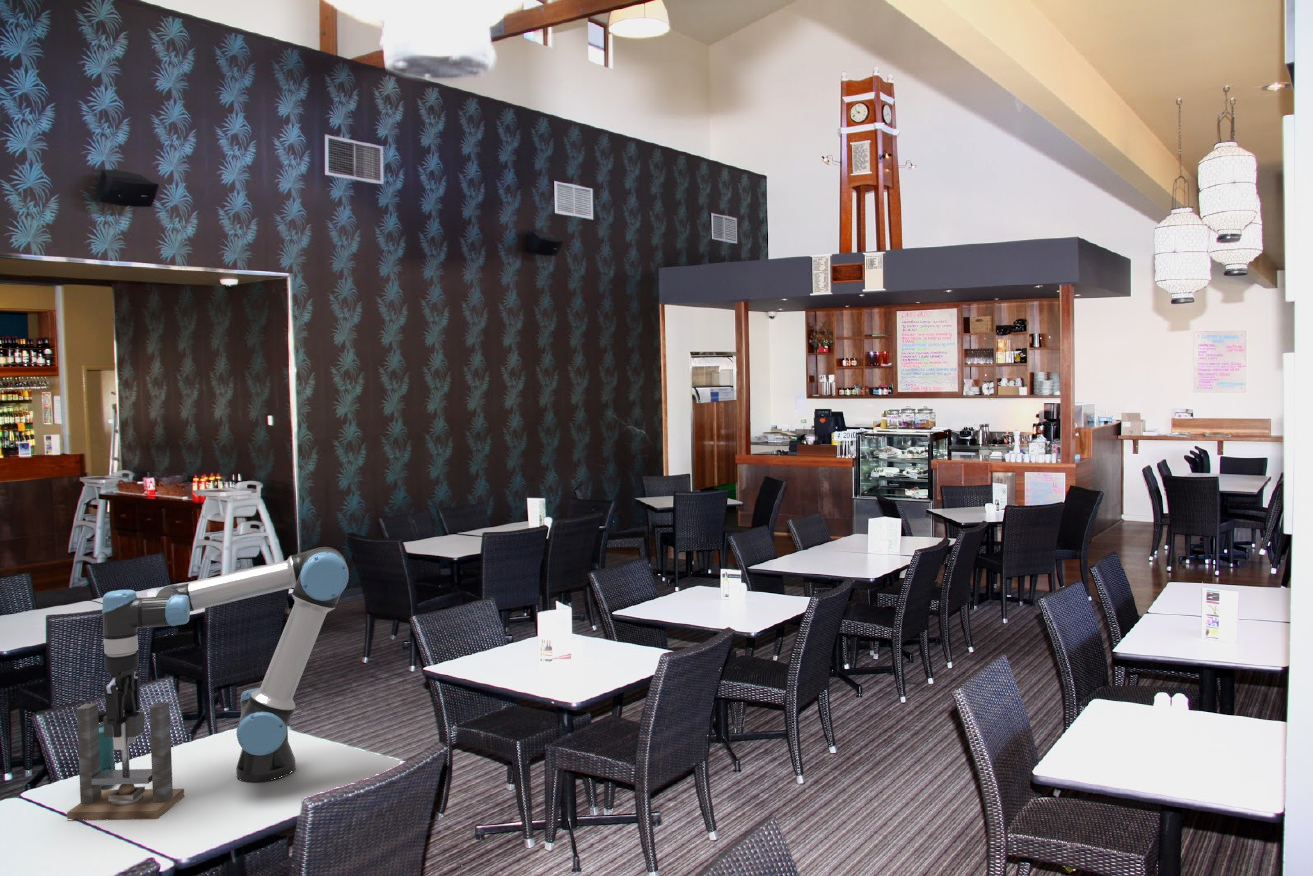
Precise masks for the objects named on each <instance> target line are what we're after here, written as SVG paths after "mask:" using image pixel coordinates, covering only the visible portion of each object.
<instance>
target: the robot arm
mask: <svg viewBox="0 0 1313 876" xmlns="http://www.w3.org/2000/svg"><path fill="white" fill-rule="evenodd" d="M349 574H350V573H349V568H348V564H347V562H346V559H345V557H344V555H343V554H342V553H341V552H340V551H338V550H337V549H335V548H332V547H330V546H329V547H328V546H323V547H316V548H314V549H310V550H307V551H304V552H300V553H296V554H292V555H290V556H288V558H287V560H283V561H280V562H274V563H270V564H265V565H260V566H258V567H257V566H256V567H253V568H248V569H243V570H240V571H235V572H230V573H226V574H223V575H217V576H213V577H209V578H203V579H200V580H196V581H192V582H188V583H183V584H179V585H177V584H169V585H166V586H164V587H163V588H161V589H160V590H159V591H158V592H157V594H156V596H149V597H138V595H137V592H136V591H135V590H133V589H118V590H112V591H108V592H106V593H105V594H104V595H103V597H102V610H101V614H102V629H103V631H102V632H103V633H102V634H103V641H102V644H103V651H104V654H105V656H104V657H103V659H104V670H105V671H106V672H109V674H110V676H109V683H108V685H107V684H105V685H103V688H102V689H103V694H104V697H105V701H104V702H105V712H106V718H107V724H112V725H113V745H114V751H115V750H117V751H118V750H121V751H122V750H125V749H126V729H125V723H123V715H124V712H140V710H141V693H140V692H141V691H140V690H141V688H140V685H141V684H140V683H141V682H140V681H141V674H142V673H141V671H135V669H137V668H138V667H139V665H140V664H139V661H140V660H139V652H138V650H139V636H138V629H144V628H157V627H170V626H171V627H175V626H181V625H185V624H187V623H189V621H190V617H191V612H193V611H197V610H202V609H205V608H206V609H207V608H210V607H215V606H220V605H223V604H228V603H232V602H237V601H239V600H244V599H249V598H253V597H258V596H261V595H262V596H263V595H266V594H271V593H275V592H279V591H284V590H287V589H292V588H293V590H292V593H291V596H292V599H293V600H294V604H293V607H292V609H291V610H290V613H289V616H288V618H287V620H286V621H287V622H286V623H285V626H284V628H283V631H282V634H281V635H280V638H279V641H278V642H277V644H276V645H277V646H276V648H275V650H274V653H273V655H272V658H271V660H270V663H269V665H268V668H267V670H266V673H265V675H264V676H263V677H264V678H263V680H262V683H261V685H260V687H256V688H250V689H247V690H244V691H243V692H242V693H241V694H240V700H239V702H240V709H241V711H240V718H239V722H238V725H237V727H236V738H237V741H238V744H239V745H240V747H241V751H240V753H239V758H238V761H237V764H236V769H235V772H236V773H235V774H236V775H237V776H236V778H237V779H238V778H239V779H238V780H240V779H241V780H240V781H242V780H243V781H244V782H247V783H248V782H249V783H257V782H258V783H259V782H260V783H261V781H262V782H269V781H272V780H271V779H274V778H278V779H280V778H279V777H281V776H284V775H286V774H289V773H290V772H291V771H293V770H294V769H295V767H296V766H297V765H296V763H297V762H296V757H295V755H294V753H293V750H292V748H291V745H290V742H289V735H288V733H289V731H288V729H289V728H288V727H289V724H290V722H291V719H292V716H293V714H294V711H295V709H296V704H295V702H294V695H295V693H296V690H297V689H298V685H299V683H300V680H301V678H302V675H303V673H304V671H305V668H306V666H307V663H308V660H309V658H310V657H311V653H312V650H313V648H314V645H315V643H316V641H317V638H318V636H319V633H320V632H321V628H322V626H323V623H324V621H325V618H326V616H327V614H328V613H329V612H331V611H333V610H335V609H336V608H337V604H338V602H339V599H340V598H341V595H342V593H343V592H344V591H345V589H346V588H347V585H348V582H349V579H350V577H349V576H350V575H349ZM128 743H129V744H135V743H137V737H128ZM296 768H297V767H296ZM295 770H296V769H295ZM295 770H294V771H295ZM294 771H293V772H294ZM289 775H290V774H289ZM284 777H285V776H284ZM281 778H282V777H281ZM268 780H269V781H268ZM274 780H275V779H274ZM243 781H242V782H243Z"/></svg>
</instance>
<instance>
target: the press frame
mask: <svg viewBox="0 0 1313 876" xmlns="http://www.w3.org/2000/svg"><path fill="white" fill-rule="evenodd" d="M98 704H99V703H84V704H83V705H80V706H79V707H77V708H76V722H77V748H78V749H77V750H78V773H79V795H80V797H79V798H80V802H79V803H78V804H77V805H76V806H74V807H72V808H71V809H70V810H69V811H67V812H66V820H67V819H78V820H77V821H107V820H106V819H108V821H111V820H113V821H114V820H120V821H121V820H156V819H157V820H158V819H160V818H161V817H162V816H163V815H164V814H165V813H166V812H167V811H168V810H170V809H171V808H172V807H174V805H176V804H178V802H180V801H181V800H182V799H183V798H184V797H185V788H174V787H173V765H172V762H173V761H172V738H171V714H170V713H171V712H170V710H171V709H170V707H171V706H170V702H169V701H167V702H165V701H163V702H161V701H160V702H156V703H155V704H152V705H151V706H149V725H150V728H149V729H150V731H149V733H150V754H151V755H150V756H151V758H150V760H151V769H152V781H151V782H152V783H151V785H152V788H146V787H145V786H135V790H134V792H133V794H131V795H120V794H119V788H117V789H102V786H101V785H92V780H91V779H92V778H93V777H95V776H96V775H98V774H99V773H101V772H100V747H99V724H100V723H98V712H99V705H98ZM83 819H84V820H83ZM87 819H88V820H87ZM97 819H99V820H97Z"/></svg>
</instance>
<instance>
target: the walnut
mask: <svg viewBox="0 0 1313 876" xmlns="http://www.w3.org/2000/svg"><path fill="white" fill-rule="evenodd" d="M135 787H136V786H135V784H119V787H118V789H119V794H120V795H131V794H133V792H134V790H135Z"/></svg>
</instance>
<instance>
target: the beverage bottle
mask: <svg viewBox="0 0 1313 876" xmlns="http://www.w3.org/2000/svg"><path fill="white" fill-rule="evenodd" d="M105 716H106V710H105V711H98V723H99V747H100V772H102V771H104V770H116V763H115V750H114V743H113V737H104V721H103V717H105ZM102 786H104V785H101V787H102Z"/></svg>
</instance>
